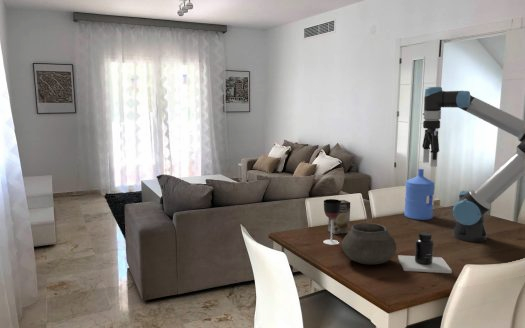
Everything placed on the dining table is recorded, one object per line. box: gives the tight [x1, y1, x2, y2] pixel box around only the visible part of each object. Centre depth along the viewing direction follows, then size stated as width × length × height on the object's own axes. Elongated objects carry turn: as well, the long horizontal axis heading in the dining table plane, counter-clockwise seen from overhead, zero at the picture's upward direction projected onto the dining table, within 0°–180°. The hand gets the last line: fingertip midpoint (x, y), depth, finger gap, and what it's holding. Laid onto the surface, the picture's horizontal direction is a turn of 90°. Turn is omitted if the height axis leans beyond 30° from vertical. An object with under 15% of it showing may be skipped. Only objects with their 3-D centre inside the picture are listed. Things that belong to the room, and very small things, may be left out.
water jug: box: [403, 168, 435, 221], centre depth 246 cm, size 16×16×28 cm
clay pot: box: [341, 222, 397, 265], centre depth 177 cm, size 22×21×15 cm
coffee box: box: [327, 199, 351, 235], centre depth 218 cm, size 9×6×16 cm
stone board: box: [397, 254, 453, 274], centre depth 174 cm, size 18×14×1 cm
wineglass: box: [323, 198, 341, 246], centre depth 201 cm, size 8×9×20 cm
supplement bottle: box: [414, 231, 435, 265], centre depth 173 cm, size 7×7×12 cm
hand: (429, 164), depth 204 cm, fingers open, 13 cm apart
